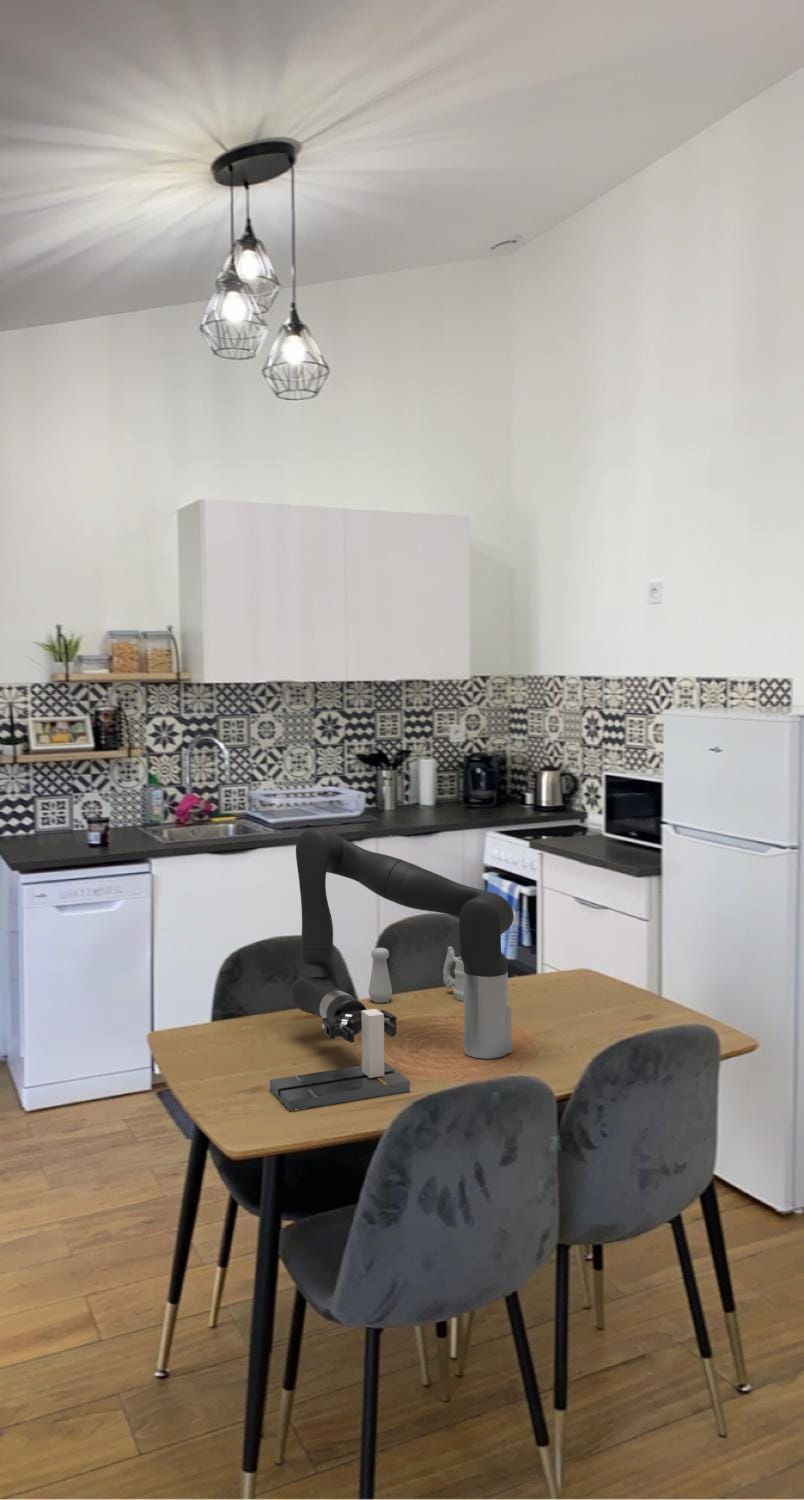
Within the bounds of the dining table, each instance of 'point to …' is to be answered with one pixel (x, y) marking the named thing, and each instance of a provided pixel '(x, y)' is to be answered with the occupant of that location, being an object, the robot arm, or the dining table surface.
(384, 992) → the salt shaker
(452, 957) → the mug
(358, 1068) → the mixer console
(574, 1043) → the dining table surface
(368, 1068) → the slider handle
